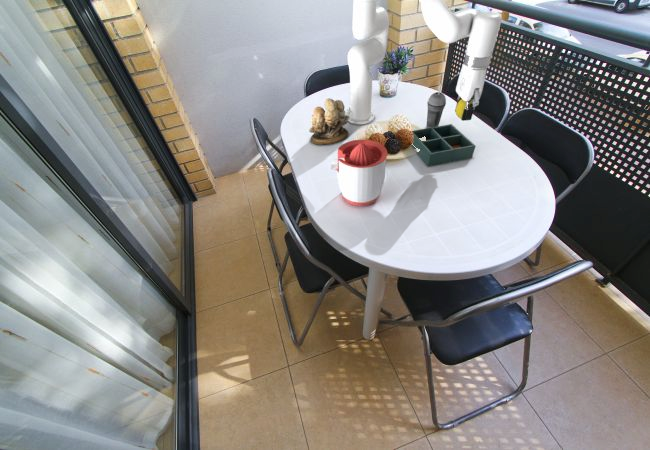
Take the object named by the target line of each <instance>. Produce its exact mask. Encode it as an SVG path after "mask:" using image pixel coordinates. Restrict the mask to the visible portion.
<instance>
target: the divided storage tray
mask: <svg viewBox="0 0 650 450" xmlns="http://www.w3.org/2000/svg"><path fill="white" fill-rule="evenodd" d="M411 131H412V132H413V135H414V142H413V145H414V146H415V147H416V148H418V149H420V151H419V152H416V153H417V155H418V156H419V157H420V158H421V160H422V161H423V162H424V163H425V164H426V166H427V167H432V166H437V165H438V166H439V165H442V164H448V163H454V162H459V161H464V160H469V159H472V158H473V156H474V153H475V149H476V144H475V143H473V141H471V140H470V139H469V138H468V137H467V136H465V135H464V134H463V133H462V131H460V130H459V129H458V128H457V127H456V126H454V125H453V124H452V123H450V124H449V123H448V124H443V125H439V126H438V127H432V128H427V127H426V128H421V129H414V130H411ZM424 136H425V137H426V141H421V140H420V139H419V138H422V137H424ZM413 145H410V146H411V148H412V149H413V150H414V149H416V148H415V147H414V146H413Z"/></svg>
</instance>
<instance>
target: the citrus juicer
mask: <svg viewBox="0 0 650 450" xmlns="http://www.w3.org/2000/svg"><path fill="white" fill-rule="evenodd" d="M388 156H389V155H388V150H387V148H386V146H385V145H383V144H382V143H380V142H378V141H376V140H371V139H353V140H349V141H347V142H344V143H342V144H341V145H339V147H337V158H336V159H334V160H332V163H331V166H330V170H331V171H337V181H338V187H339V189H340V193H341V195H342V197H343V199H344V200H345V201H346V202H347V203H348V204H350V205H353V206H357V207H365V206H369V205H371V204H373V203H375V202H376V201H377V199H378V198H379V196H380V195H381V192H382V189H383V187H384V184H385V183H384V182H385V177H386V166H387V157H388Z"/></svg>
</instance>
